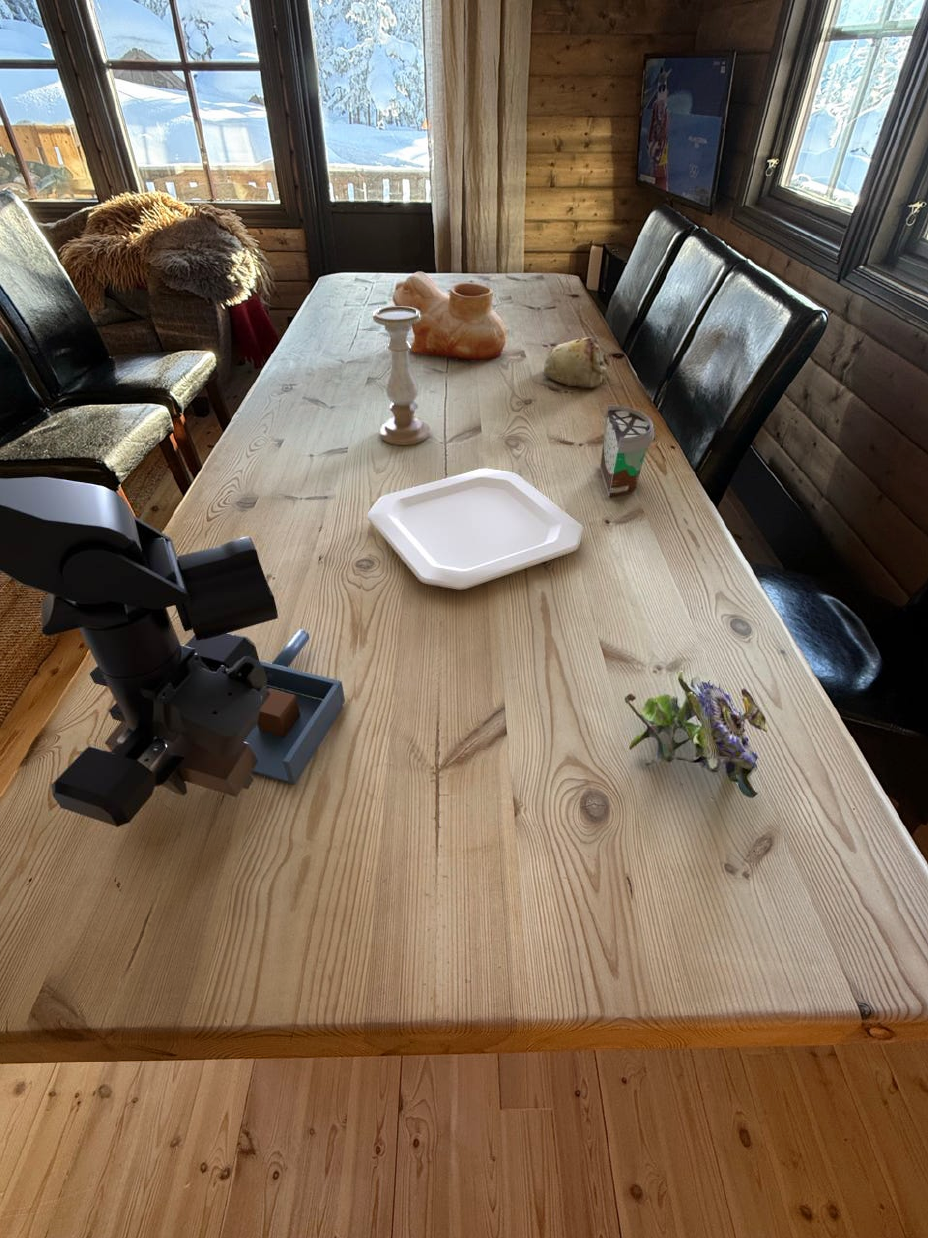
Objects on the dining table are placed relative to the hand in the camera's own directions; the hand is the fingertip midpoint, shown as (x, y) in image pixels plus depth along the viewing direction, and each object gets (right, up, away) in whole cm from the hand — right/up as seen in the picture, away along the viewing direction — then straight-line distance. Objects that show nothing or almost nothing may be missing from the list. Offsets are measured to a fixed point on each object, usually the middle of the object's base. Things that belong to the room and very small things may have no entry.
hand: (193, 776), depth 59 cm
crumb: (+5, +4, +4) cm, 8 cm away
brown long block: (0, +1, -1) cm, 1 cm away
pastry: (+47, +64, +77) cm, 111 cm away
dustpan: (+4, +6, +9) cm, 12 cm away
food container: (+49, +36, +44) cm, 75 cm away
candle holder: (+14, +47, +57) cm, 75 cm away
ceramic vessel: (+21, +75, +90) cm, 119 cm away
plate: (+26, +26, +33) cm, 49 cm away
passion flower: (+45, +1, +3) cm, 45 cm away
